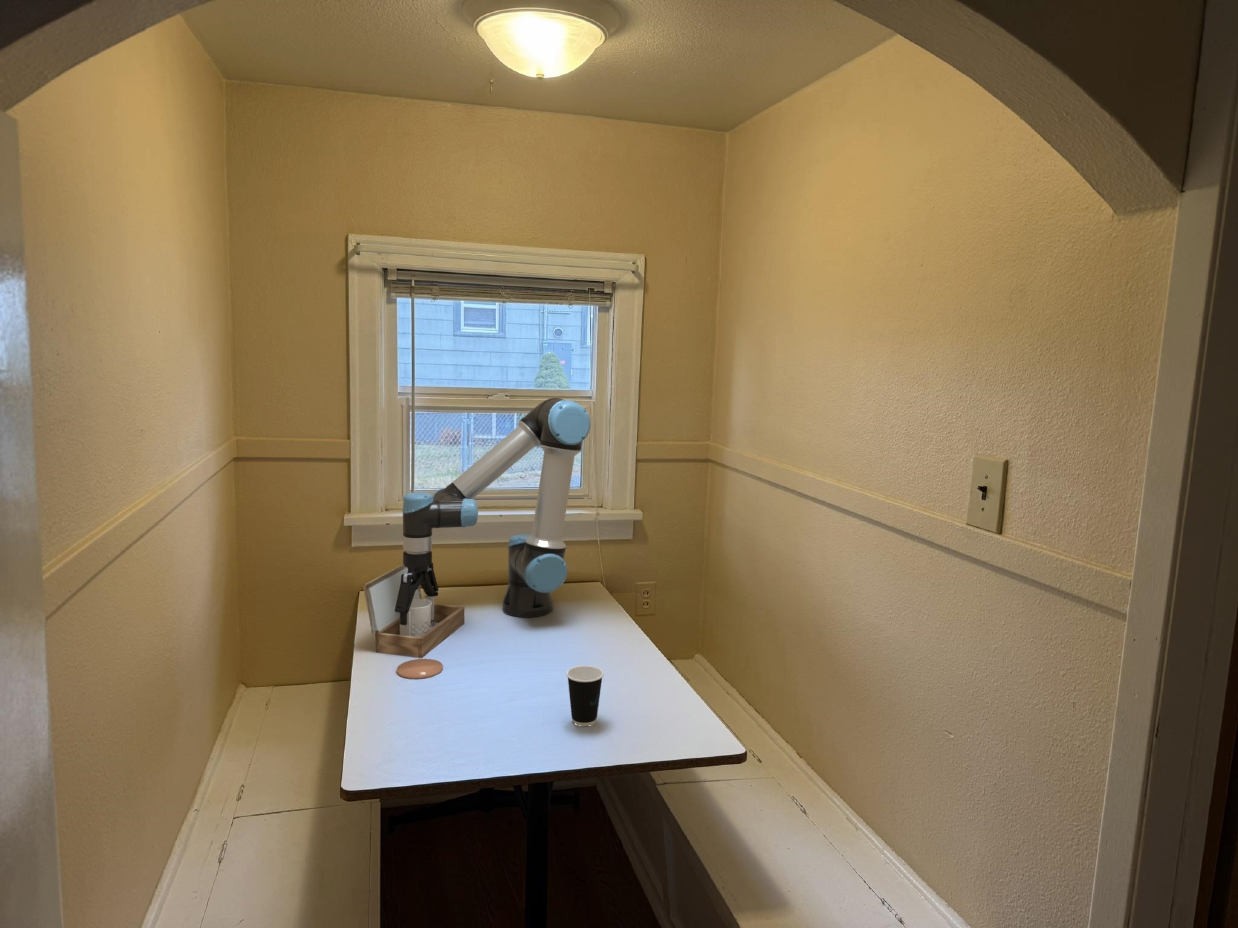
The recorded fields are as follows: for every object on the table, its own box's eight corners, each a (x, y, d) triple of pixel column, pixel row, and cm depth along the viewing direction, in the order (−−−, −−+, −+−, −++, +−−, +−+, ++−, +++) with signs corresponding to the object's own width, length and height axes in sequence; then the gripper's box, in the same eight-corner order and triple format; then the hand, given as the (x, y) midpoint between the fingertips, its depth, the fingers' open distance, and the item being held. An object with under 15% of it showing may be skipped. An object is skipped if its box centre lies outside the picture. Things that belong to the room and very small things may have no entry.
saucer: (450, 663, 198) (450, 661, 198) (430, 681, 188) (430, 678, 188) (410, 658, 201) (410, 656, 201) (388, 676, 190) (388, 673, 190)
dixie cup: (565, 713, 173) (565, 665, 172) (601, 712, 174) (602, 664, 172) (566, 730, 165) (566, 680, 164) (604, 729, 166) (605, 680, 165)
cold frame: (464, 623, 227) (464, 604, 226) (422, 657, 202) (421, 635, 201) (422, 619, 230) (422, 599, 229) (375, 652, 205) (375, 630, 204)
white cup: (414, 646, 209) (414, 610, 208) (395, 639, 214) (395, 603, 212) (438, 638, 215) (437, 602, 214) (419, 631, 220) (418, 596, 219)
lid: (414, 558, 228) (411, 559, 228) (366, 584, 202) (363, 585, 203) (422, 602, 229) (419, 602, 229) (375, 633, 204) (372, 633, 204)
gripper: (426, 539, 224) (426, 611, 227) (380, 560, 200) (381, 641, 203) (450, 541, 222) (450, 614, 225) (407, 563, 198) (407, 644, 201)
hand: (417, 627), depth 214 cm, fingers open, 13 cm apart
